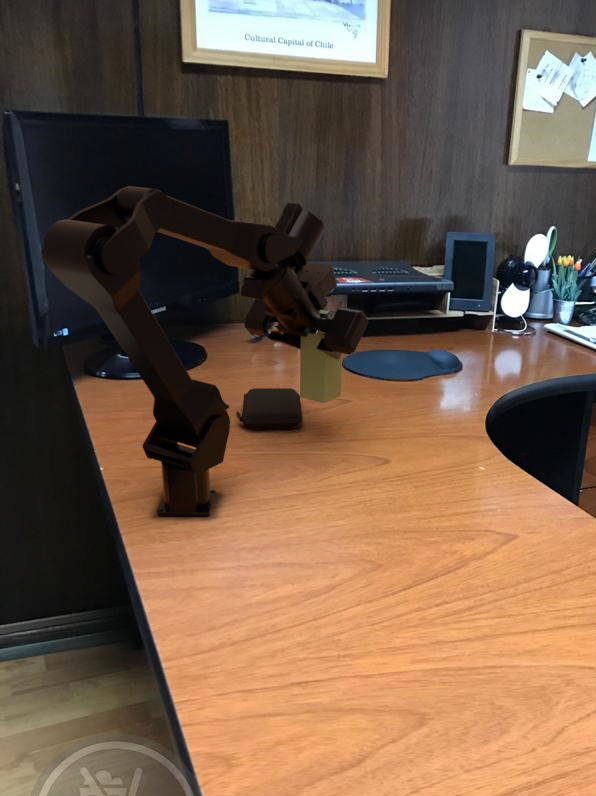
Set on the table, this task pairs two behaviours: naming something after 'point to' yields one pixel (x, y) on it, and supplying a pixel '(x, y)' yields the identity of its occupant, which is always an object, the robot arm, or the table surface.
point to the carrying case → (271, 408)
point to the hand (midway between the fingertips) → (326, 353)
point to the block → (318, 371)
